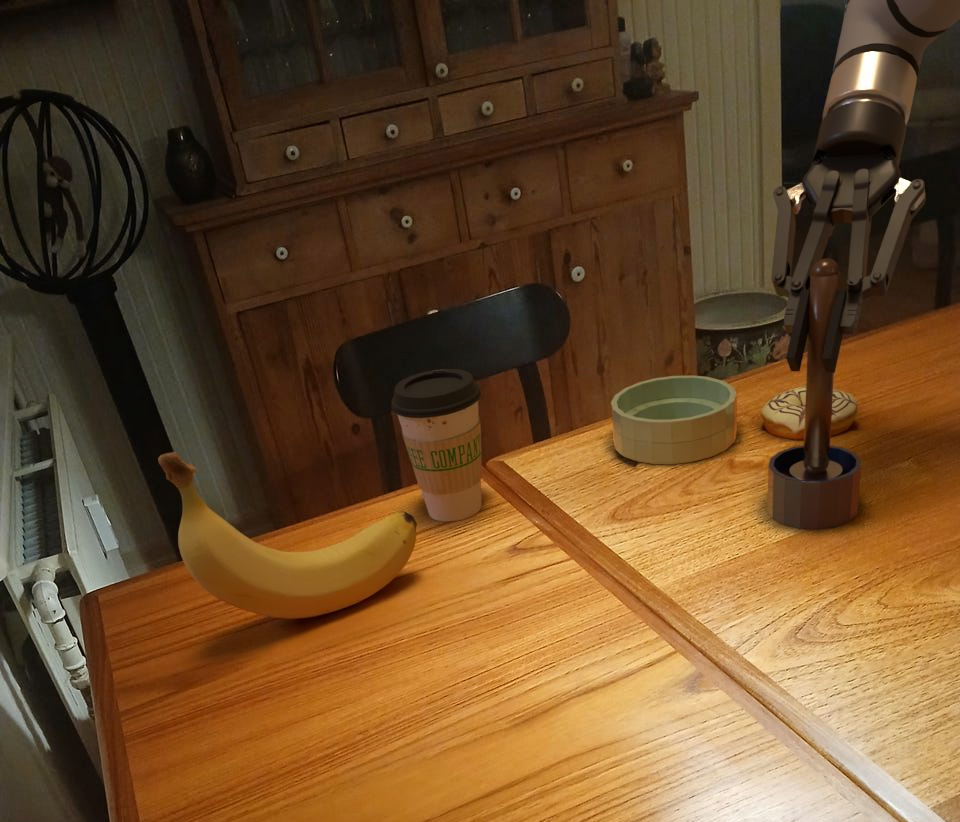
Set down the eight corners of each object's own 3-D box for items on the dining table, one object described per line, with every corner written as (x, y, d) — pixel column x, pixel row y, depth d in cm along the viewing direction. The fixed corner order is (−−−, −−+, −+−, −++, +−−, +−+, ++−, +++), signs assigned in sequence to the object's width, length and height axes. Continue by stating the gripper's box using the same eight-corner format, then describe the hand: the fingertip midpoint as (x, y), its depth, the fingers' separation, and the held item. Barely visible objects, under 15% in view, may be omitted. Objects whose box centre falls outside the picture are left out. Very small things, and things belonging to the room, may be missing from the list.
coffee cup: (405, 531, 110) (379, 404, 102) (421, 492, 118) (398, 371, 110) (491, 526, 108) (472, 395, 100) (502, 487, 116) (484, 362, 108)
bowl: (743, 421, 122) (743, 374, 119) (727, 471, 111) (726, 421, 108) (628, 421, 127) (625, 376, 124) (602, 469, 116) (598, 422, 113)
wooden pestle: (842, 480, 99) (857, 249, 87) (840, 503, 95) (854, 264, 83) (790, 480, 101) (797, 253, 89) (786, 502, 97) (793, 268, 85)
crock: (858, 498, 102) (862, 444, 98) (855, 538, 95) (859, 482, 92) (772, 496, 105) (773, 444, 101) (763, 535, 98) (764, 481, 95)
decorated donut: (743, 427, 121) (743, 397, 118) (817, 404, 123) (818, 374, 121) (797, 453, 112) (798, 422, 110) (874, 428, 115) (877, 397, 113)
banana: (414, 560, 104) (376, 378, 93) (436, 582, 100) (400, 393, 89) (208, 636, 97) (140, 449, 86) (222, 663, 93) (153, 469, 82)
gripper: (956, 144, 89) (906, 386, 87) (785, 156, 97) (734, 380, 95) (955, 87, 83) (899, 347, 81) (771, 104, 90) (715, 343, 88)
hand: (810, 364), depth 88 cm, fingers closed on wooden pestle, 2 cm apart
